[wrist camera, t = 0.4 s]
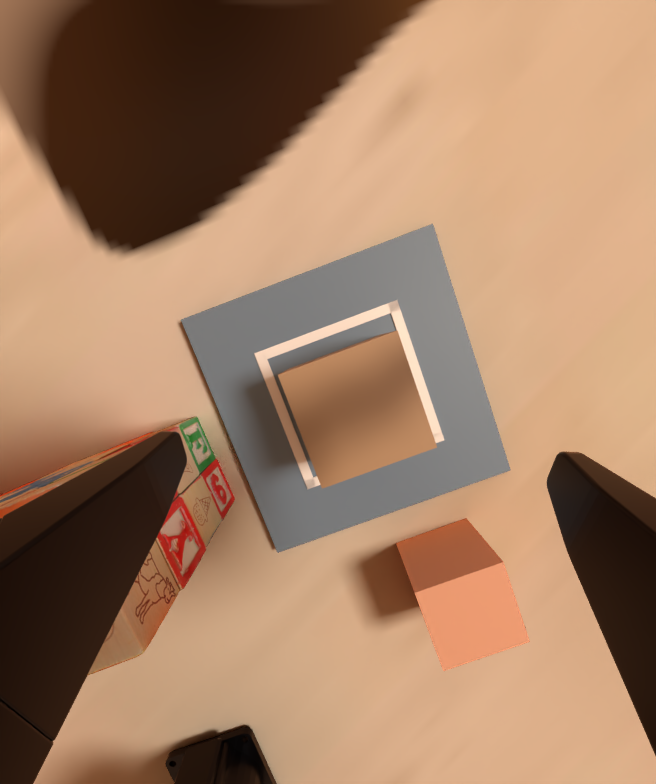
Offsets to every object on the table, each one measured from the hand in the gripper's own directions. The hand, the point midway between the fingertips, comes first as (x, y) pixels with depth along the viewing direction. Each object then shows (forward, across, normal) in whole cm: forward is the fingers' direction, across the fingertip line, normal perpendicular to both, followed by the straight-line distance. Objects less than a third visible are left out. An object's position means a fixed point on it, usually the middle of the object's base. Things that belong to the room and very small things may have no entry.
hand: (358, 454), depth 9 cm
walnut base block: (+12, +1, +6) cm, 14 cm away
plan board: (+13, +1, +6) cm, 14 cm away
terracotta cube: (+9, -6, +17) cm, 20 cm away
